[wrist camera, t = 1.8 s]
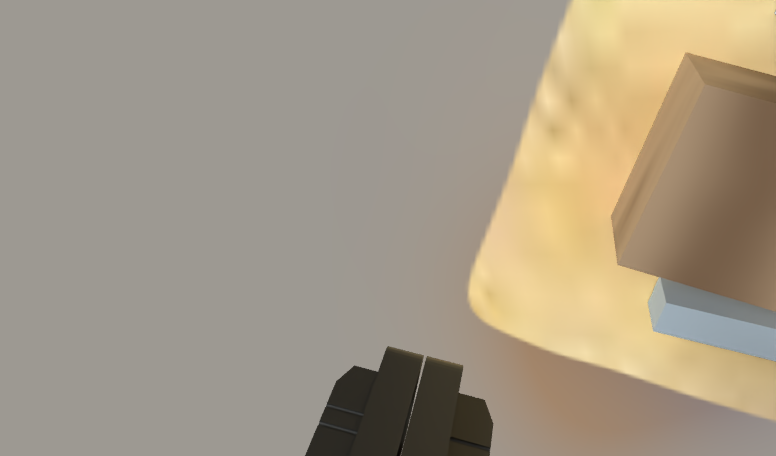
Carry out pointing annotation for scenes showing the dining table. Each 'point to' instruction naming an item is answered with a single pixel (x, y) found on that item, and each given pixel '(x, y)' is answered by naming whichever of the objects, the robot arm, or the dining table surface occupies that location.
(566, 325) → the dining table surface
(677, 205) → the block
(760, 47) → the dining table surface
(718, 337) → the guide track
